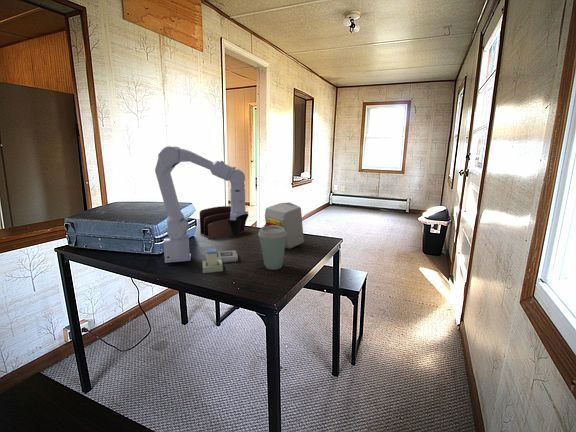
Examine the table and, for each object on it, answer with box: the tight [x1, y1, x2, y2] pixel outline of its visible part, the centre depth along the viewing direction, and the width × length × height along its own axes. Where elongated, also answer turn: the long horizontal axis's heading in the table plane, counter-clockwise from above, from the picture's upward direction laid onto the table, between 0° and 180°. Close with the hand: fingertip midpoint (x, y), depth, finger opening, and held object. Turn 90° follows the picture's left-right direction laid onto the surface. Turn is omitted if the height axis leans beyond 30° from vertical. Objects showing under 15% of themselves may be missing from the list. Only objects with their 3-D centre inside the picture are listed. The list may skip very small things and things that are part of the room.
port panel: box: [205, 249, 239, 264], centre depth 120 cm, size 12×8×2 cm, turn 106°
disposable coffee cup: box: [257, 225, 287, 270], centre depth 111 cm, size 11×11×15 cm
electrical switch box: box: [263, 202, 305, 250], centre depth 137 cm, size 14×15×20 cm
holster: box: [201, 259, 224, 274], centre depth 110 cm, size 7×7×2 cm
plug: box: [206, 248, 218, 266], centre depth 110 cm, size 4×4×7 cm
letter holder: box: [199, 205, 244, 240], centre depth 155 cm, size 10×20×14 cm, turn 130°
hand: (238, 233), depth 121 cm, fingers open, 7 cm apart
